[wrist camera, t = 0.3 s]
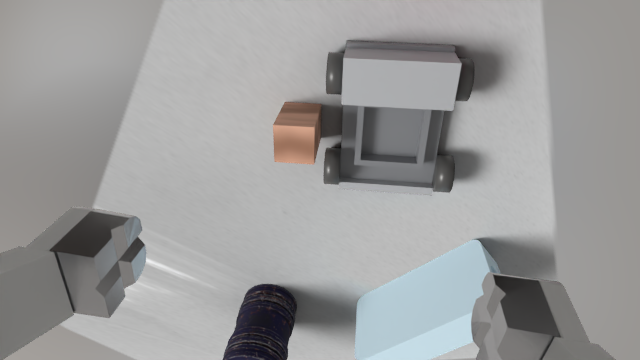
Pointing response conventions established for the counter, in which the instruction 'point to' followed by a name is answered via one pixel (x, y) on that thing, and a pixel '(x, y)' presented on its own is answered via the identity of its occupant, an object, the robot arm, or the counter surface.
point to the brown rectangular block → (297, 133)
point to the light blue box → (424, 308)
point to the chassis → (394, 115)
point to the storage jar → (263, 325)
